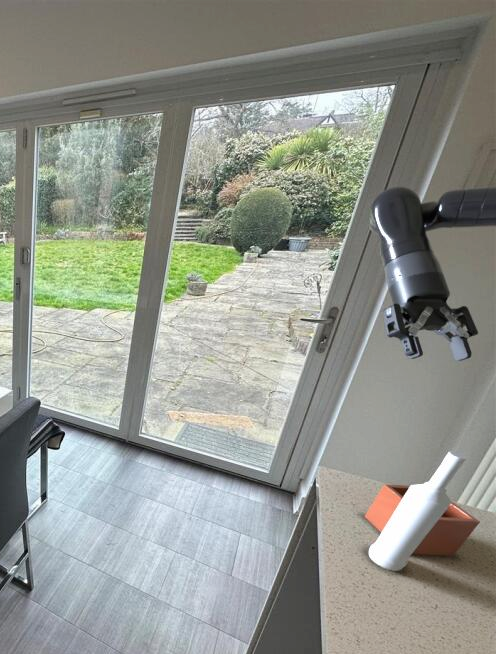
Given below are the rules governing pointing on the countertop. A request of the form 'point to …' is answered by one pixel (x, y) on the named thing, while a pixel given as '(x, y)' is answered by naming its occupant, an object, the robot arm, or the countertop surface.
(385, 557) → the bottle
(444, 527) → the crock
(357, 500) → the countertop surface
